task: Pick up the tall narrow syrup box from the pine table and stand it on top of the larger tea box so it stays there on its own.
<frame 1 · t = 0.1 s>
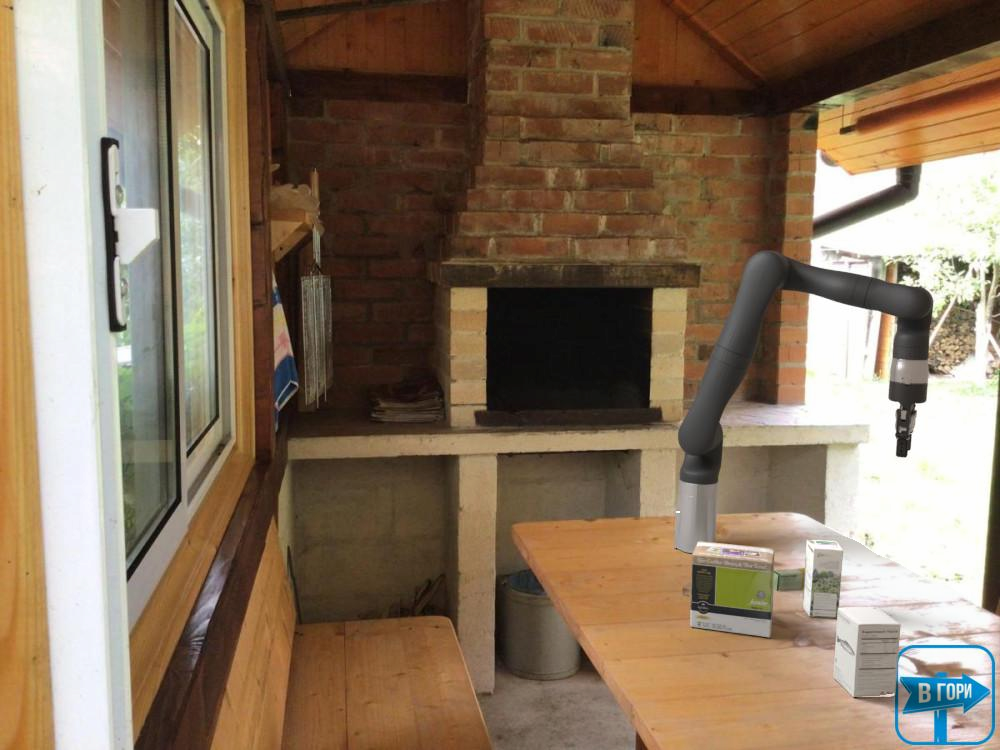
hand: (903, 453, 191), 29 cm above the table, tool pointing down, fingers open, 8 cm apart
supplement box: (863, 689, 145), on the table
medication box: (797, 588, 192), on the table
syrup box: (820, 614, 177), on the table
tea box: (730, 625, 171), on the table
cutting board: (721, 593, 187), on the table
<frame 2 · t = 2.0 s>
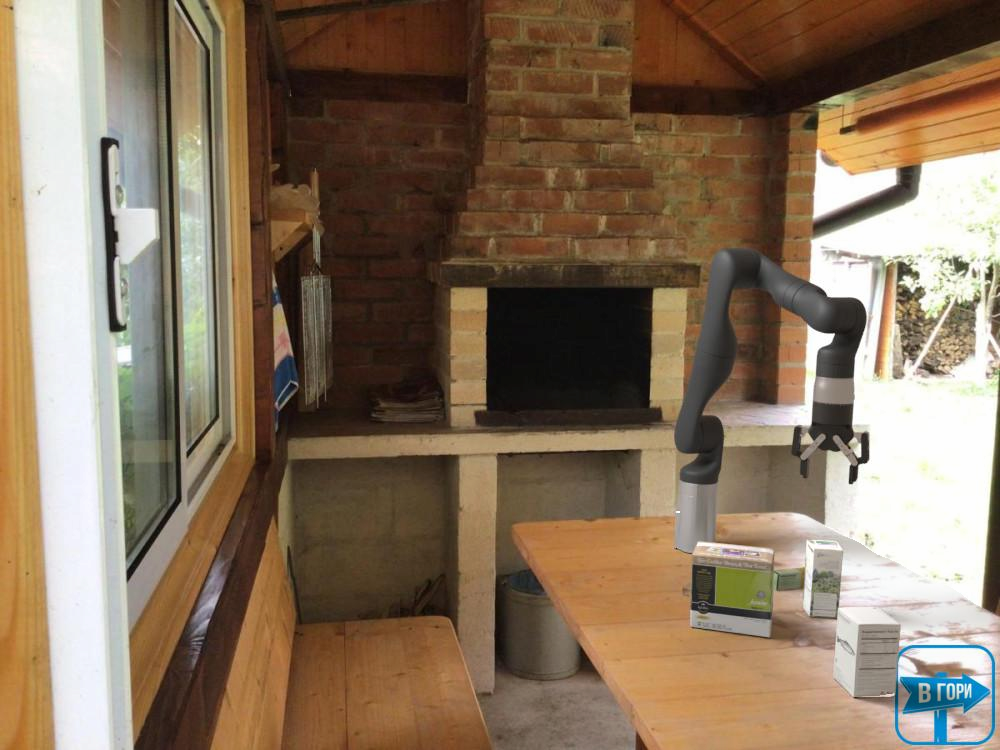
hand: (828, 480, 174), 27 cm above the table, tool pointing down, fingers open, 8 cm apart
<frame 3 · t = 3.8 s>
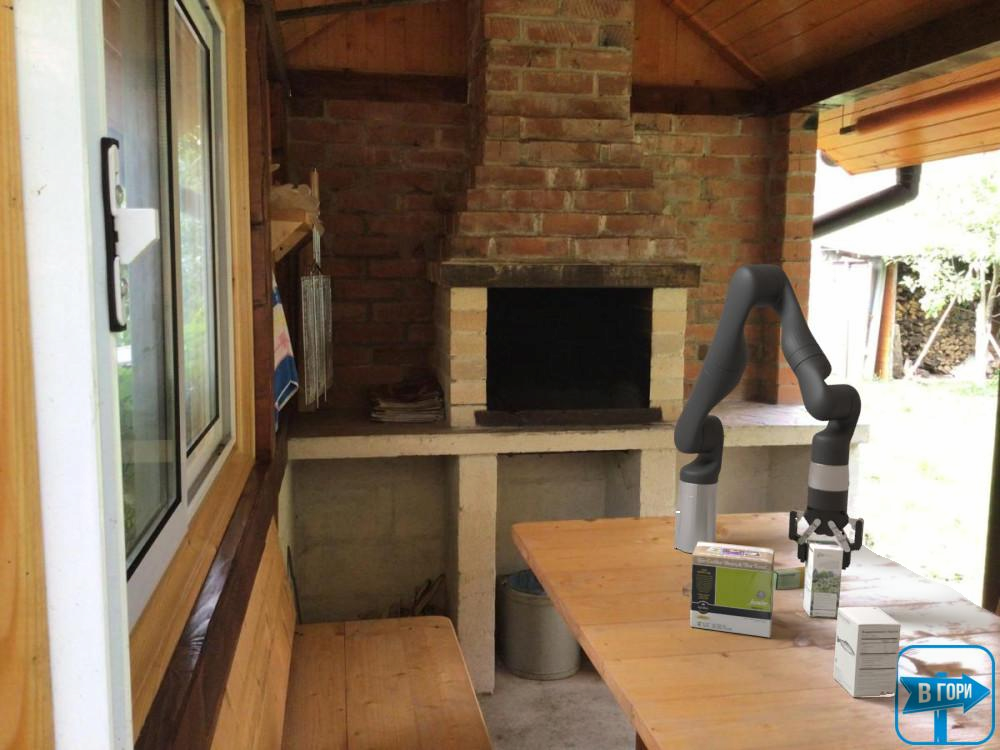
hand: (823, 565, 176), 10 cm above the table, tool pointing down, fingers closed on syrup box, 7 cm apart
syrup box: (820, 614, 177), on the table, touching gripper
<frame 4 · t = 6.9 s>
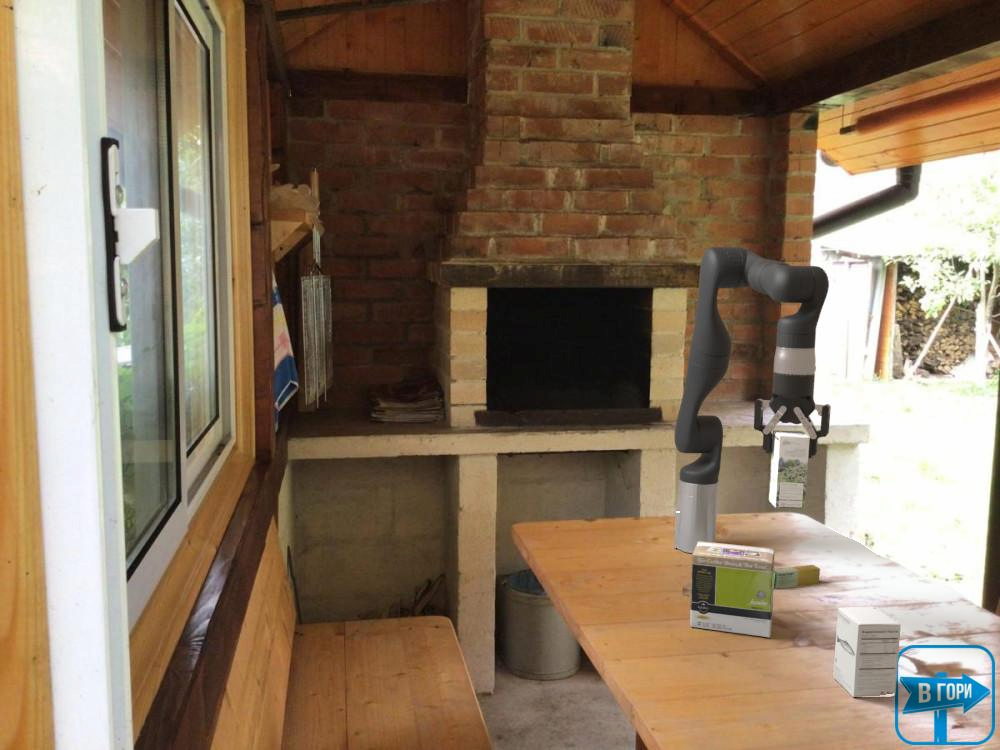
hand: (789, 455, 170), 33 cm above the table, tool pointing down, fingers closed on syrup box, 7 cm apart
syrup box: (786, 506, 171), point 23 cm above the table, touching gripper
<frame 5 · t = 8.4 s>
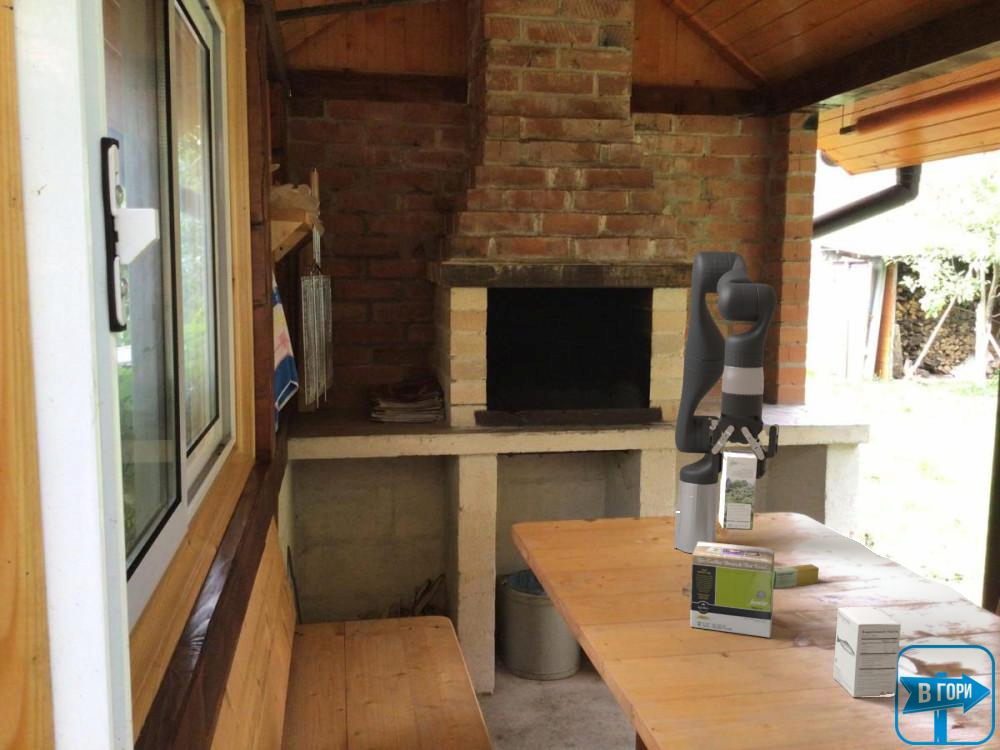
hand: (738, 475, 167), 29 cm above the table, tool pointing down, fingers closed on syrup box, 7 cm apart
syrup box: (735, 527, 169), point 19 cm above the table, touching gripper
when the fingers open (25 cm above the table, at t = 9.9 s): syrup box stays where it is, resting on tea box.
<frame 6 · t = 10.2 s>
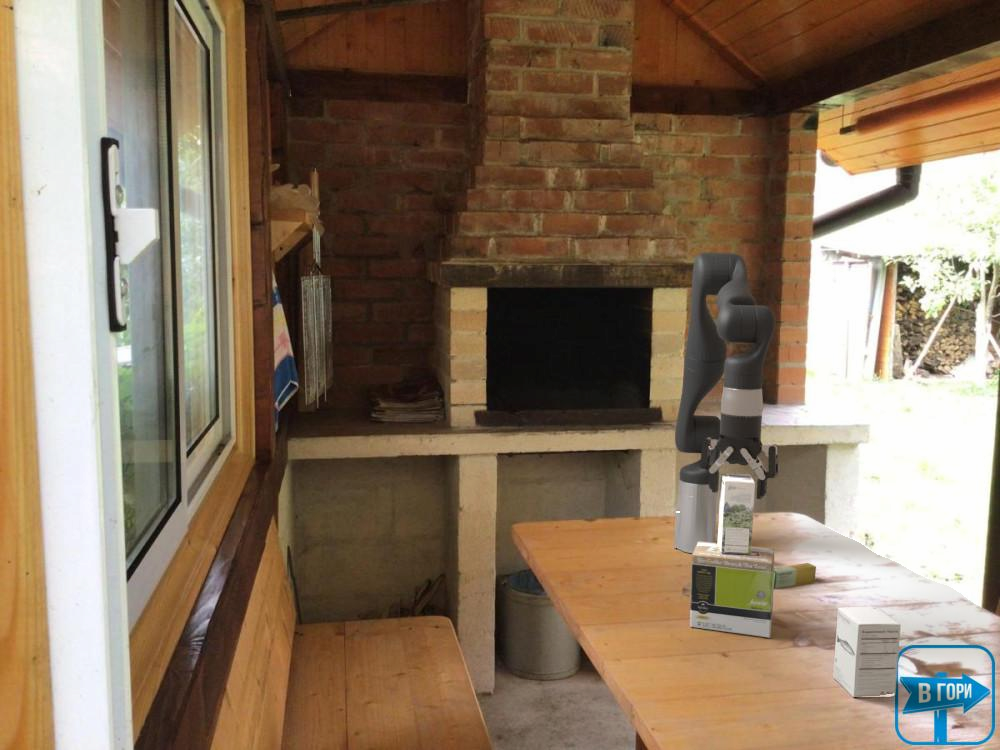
hand: (737, 495, 168), 26 cm above the table, tool pointing down, fingers open, 8 cm apart
syrup box: (733, 551, 169), point 14 cm above the table, touching tea box
tea box: (730, 625, 171), on the table, touching syrup box
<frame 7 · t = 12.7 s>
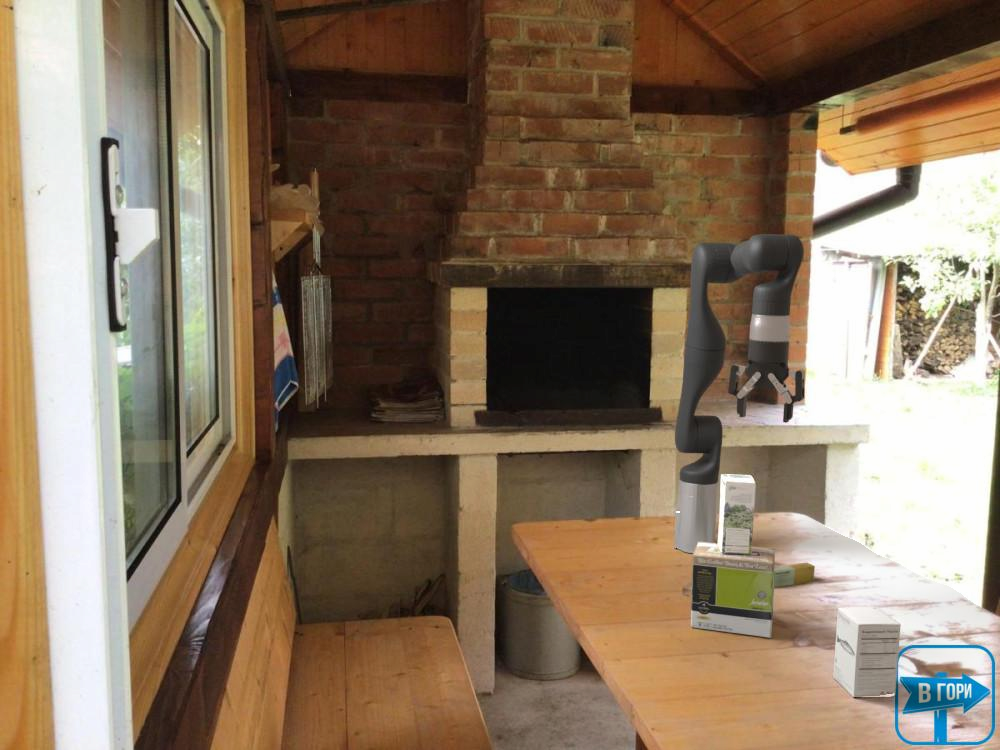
hand: (764, 419, 174), 39 cm above the table, tool pointing down, fingers open, 8 cm apart
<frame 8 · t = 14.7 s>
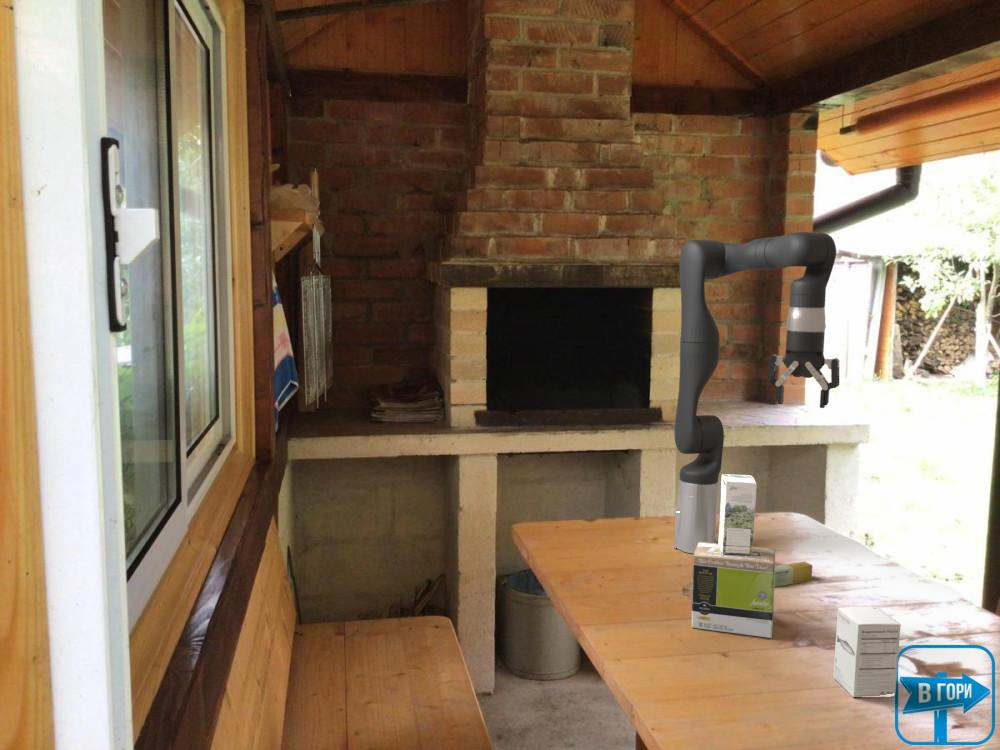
hand: (801, 405, 186), 40 cm above the table, tool pointing down, fingers open, 8 cm apart
at the end: syrup box inside the target area on the tea box (0.1 cm from its centre), point 14.8 cm above the tea box's base; syrup box tilted 0°; the gripper is holding nothing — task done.
